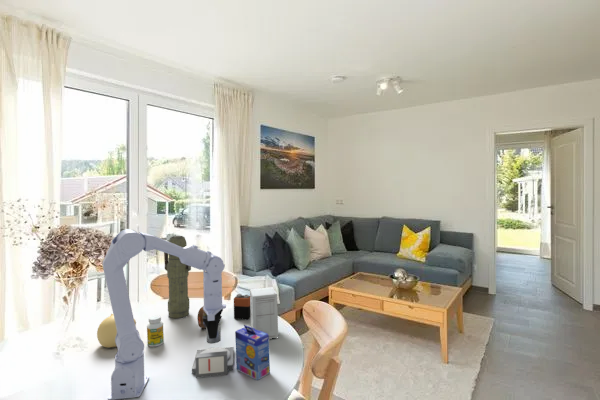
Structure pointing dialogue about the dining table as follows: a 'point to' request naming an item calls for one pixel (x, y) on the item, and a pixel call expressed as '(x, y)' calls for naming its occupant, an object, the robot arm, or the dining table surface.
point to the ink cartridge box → (252, 352)
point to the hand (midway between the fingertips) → (213, 334)
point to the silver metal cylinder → (214, 340)
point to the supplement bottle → (155, 331)
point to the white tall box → (264, 311)
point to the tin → (201, 318)
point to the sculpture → (108, 332)
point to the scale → (213, 362)
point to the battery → (242, 307)
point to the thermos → (177, 282)
